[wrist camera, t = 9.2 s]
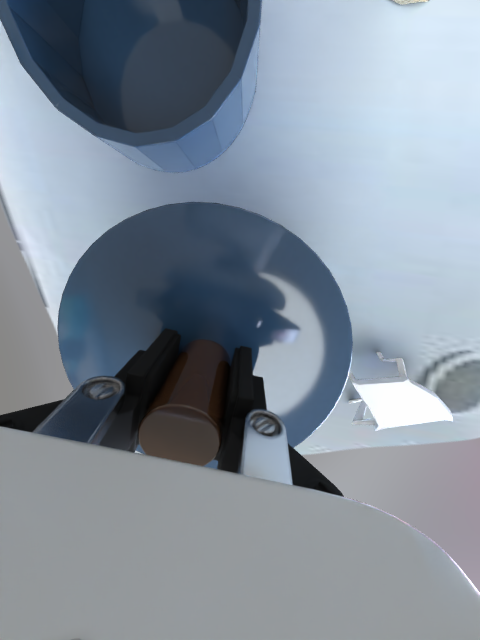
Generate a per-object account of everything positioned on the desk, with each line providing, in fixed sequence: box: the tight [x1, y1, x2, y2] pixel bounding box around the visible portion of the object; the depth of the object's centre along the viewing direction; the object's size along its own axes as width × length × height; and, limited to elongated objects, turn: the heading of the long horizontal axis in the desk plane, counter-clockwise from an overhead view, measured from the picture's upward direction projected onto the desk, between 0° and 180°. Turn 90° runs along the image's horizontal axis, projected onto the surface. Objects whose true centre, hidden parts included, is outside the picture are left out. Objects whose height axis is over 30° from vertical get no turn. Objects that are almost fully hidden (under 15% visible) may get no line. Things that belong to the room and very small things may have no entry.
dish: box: [0, 0, 262, 173], centre depth 15 cm, size 13×14×6 cm
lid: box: [58, 202, 353, 469], centre depth 10 cm, size 14×14×6 cm
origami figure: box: [348, 352, 453, 431], centre depth 24 cm, size 12×8×5 cm
